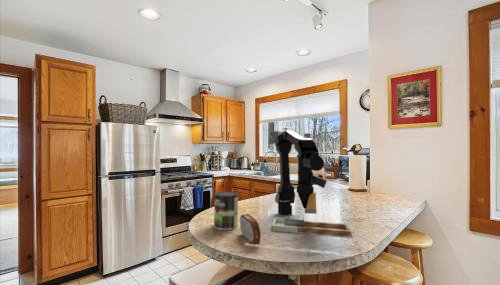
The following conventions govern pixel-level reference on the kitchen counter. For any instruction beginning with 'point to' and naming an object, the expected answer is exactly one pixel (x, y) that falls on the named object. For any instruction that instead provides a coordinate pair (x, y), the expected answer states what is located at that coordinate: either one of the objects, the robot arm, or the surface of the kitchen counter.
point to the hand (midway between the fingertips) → (305, 206)
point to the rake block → (311, 204)
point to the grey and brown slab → (250, 228)
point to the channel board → (325, 229)
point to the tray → (282, 226)
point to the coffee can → (226, 210)
